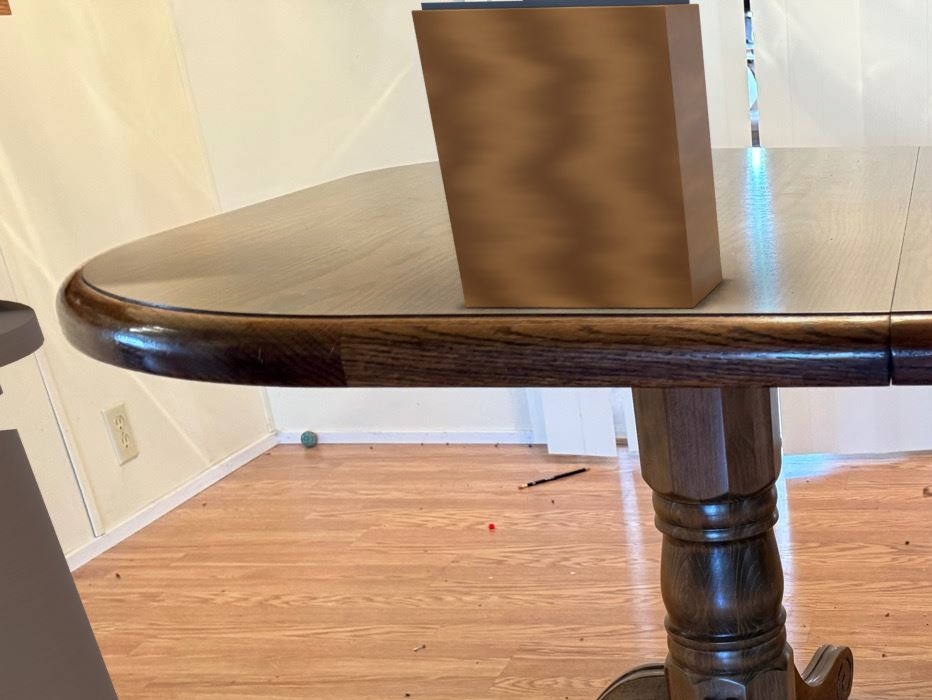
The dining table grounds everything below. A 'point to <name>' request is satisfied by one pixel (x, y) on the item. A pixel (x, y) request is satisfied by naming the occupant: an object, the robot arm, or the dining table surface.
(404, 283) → the dining table surface
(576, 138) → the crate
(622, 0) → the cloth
